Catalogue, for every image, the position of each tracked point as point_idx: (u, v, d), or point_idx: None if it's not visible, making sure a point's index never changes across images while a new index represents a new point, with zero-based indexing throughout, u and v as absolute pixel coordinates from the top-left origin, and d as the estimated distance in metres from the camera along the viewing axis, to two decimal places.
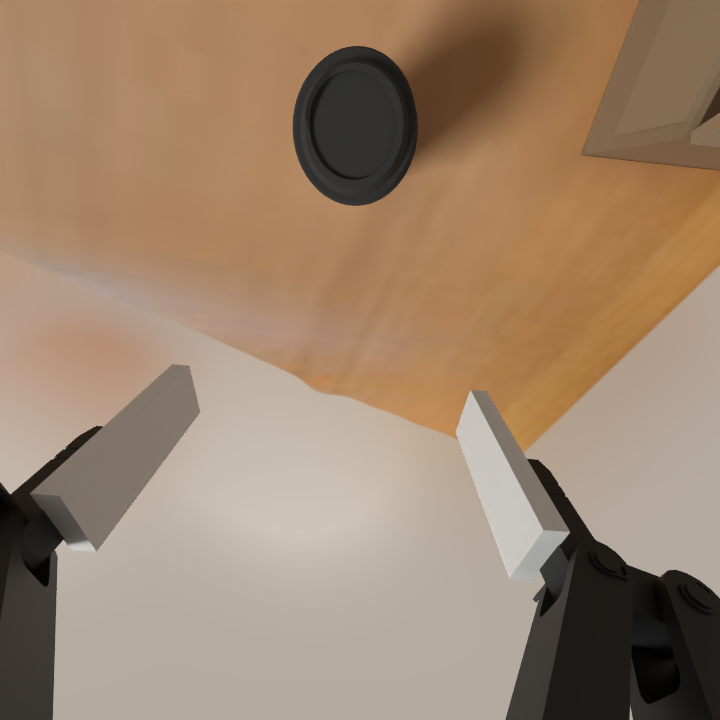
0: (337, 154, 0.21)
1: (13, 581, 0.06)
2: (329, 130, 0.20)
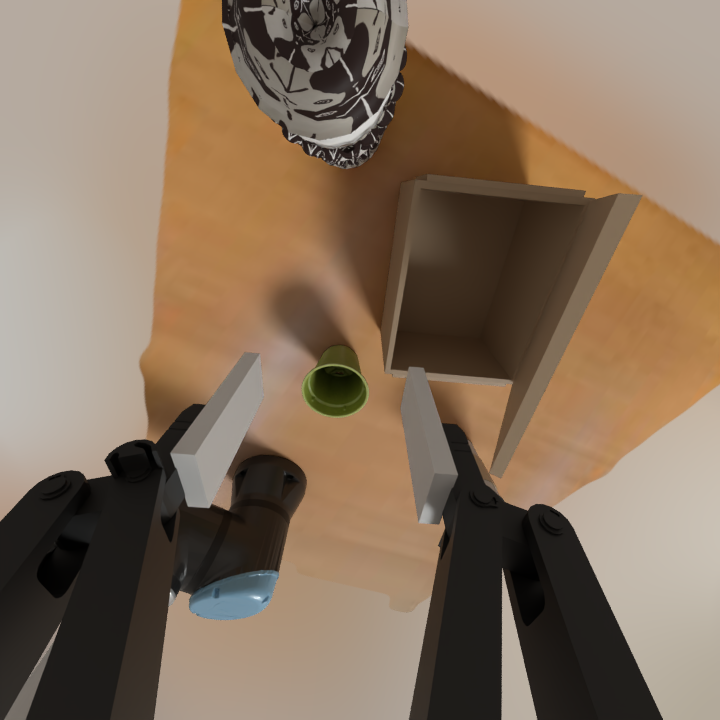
0: None
1: (153, 534, 0.07)
2: None
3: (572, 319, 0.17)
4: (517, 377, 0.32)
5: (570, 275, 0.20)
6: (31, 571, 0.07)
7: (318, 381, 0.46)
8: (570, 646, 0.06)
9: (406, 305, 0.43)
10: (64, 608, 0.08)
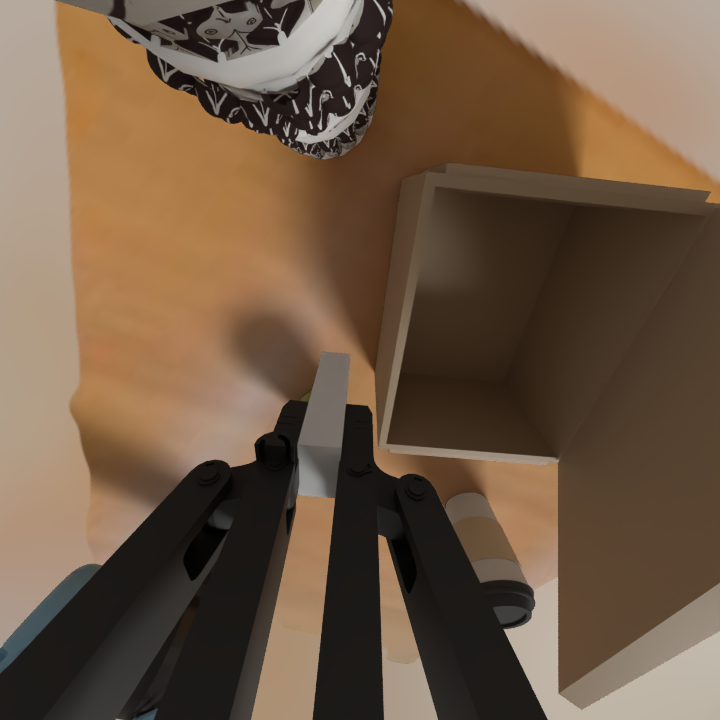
0: (510, 619, 0.36)
1: (279, 527, 0.08)
2: None
3: None
4: (573, 467, 0.22)
5: None
6: (180, 554, 0.07)
7: None
8: (436, 605, 0.07)
9: (408, 341, 0.33)
10: (194, 590, 0.08)
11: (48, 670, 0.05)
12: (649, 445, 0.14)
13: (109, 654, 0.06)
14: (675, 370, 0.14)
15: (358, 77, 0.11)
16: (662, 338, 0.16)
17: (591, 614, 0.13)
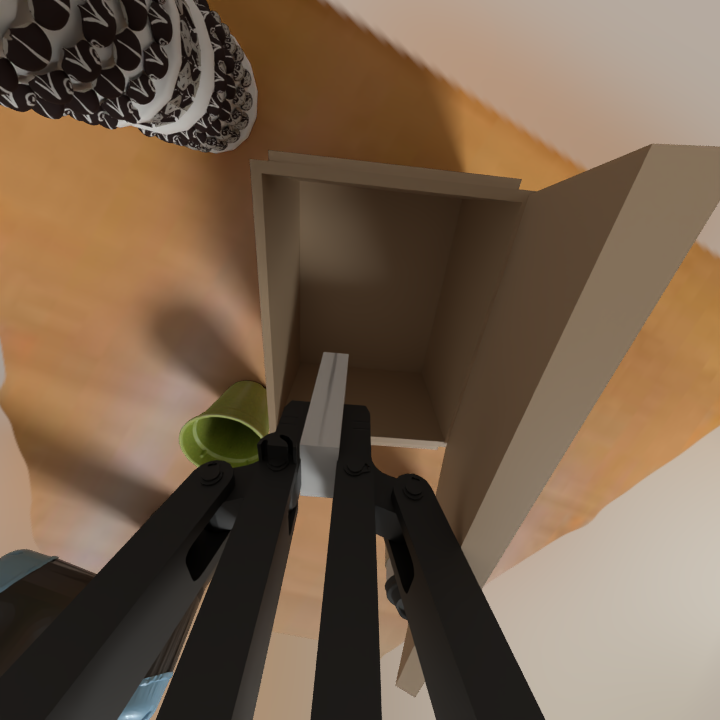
0: None
1: (282, 528, 0.08)
2: None
3: (514, 496, 0.06)
4: (448, 451, 0.22)
5: (506, 342, 0.10)
6: (183, 554, 0.07)
7: (217, 427, 0.36)
8: (433, 605, 0.07)
9: (323, 333, 0.34)
10: (196, 590, 0.08)
11: (51, 669, 0.05)
12: (468, 425, 0.14)
13: (112, 654, 0.06)
14: (489, 350, 0.14)
15: (123, 64, 0.12)
16: (492, 320, 0.17)
17: None
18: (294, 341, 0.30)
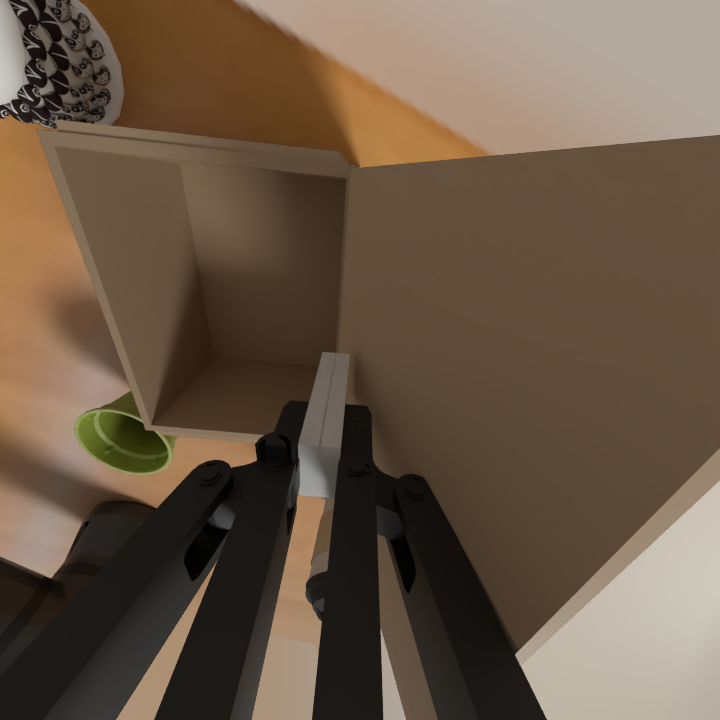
0: None
1: (280, 527, 0.08)
2: None
3: (595, 588, 0.05)
4: None
5: (438, 361, 0.08)
6: (181, 554, 0.07)
7: (132, 422, 0.35)
8: (435, 605, 0.07)
9: (232, 325, 0.32)
10: (195, 590, 0.08)
11: (50, 670, 0.05)
12: (388, 445, 0.12)
13: (110, 654, 0.06)
14: (379, 356, 0.12)
15: None
16: (358, 316, 0.15)
17: (409, 655, 0.11)
18: (192, 334, 0.29)
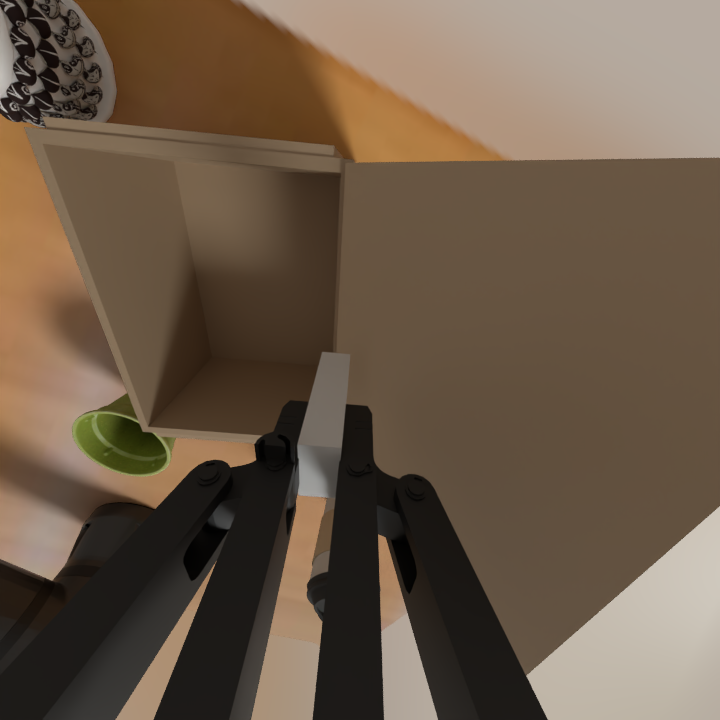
0: None
1: (280, 527, 0.08)
2: None
3: (715, 503, 0.06)
4: None
5: (515, 346, 0.09)
6: (180, 554, 0.07)
7: (130, 424, 0.35)
8: (436, 605, 0.07)
9: (229, 325, 0.32)
10: (194, 590, 0.08)
11: (48, 670, 0.05)
12: (436, 433, 0.13)
13: (109, 654, 0.06)
14: (414, 349, 0.13)
15: None
16: (373, 313, 0.15)
17: None
18: (189, 334, 0.29)
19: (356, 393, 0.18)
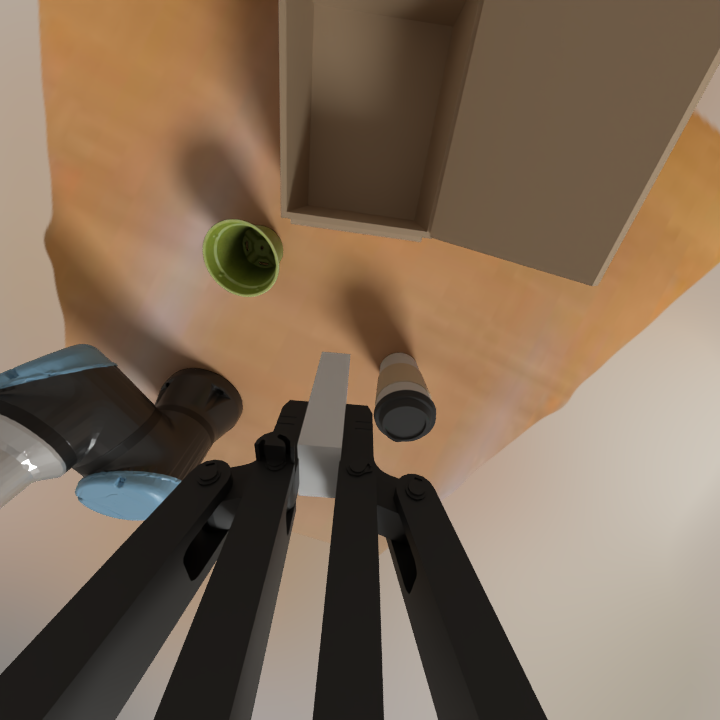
0: (413, 429, 0.42)
1: (279, 527, 0.08)
2: (404, 431, 0.43)
3: None
4: (461, 213, 0.27)
5: None
6: (180, 554, 0.07)
7: (234, 262, 0.42)
8: (436, 605, 0.07)
9: (329, 172, 0.38)
10: (194, 590, 0.08)
11: (49, 670, 0.05)
12: (560, 106, 0.19)
13: (109, 654, 0.06)
14: (548, 51, 0.19)
15: None
16: (508, 53, 0.21)
17: (586, 225, 0.19)
18: (304, 165, 0.35)
19: (474, 147, 0.25)
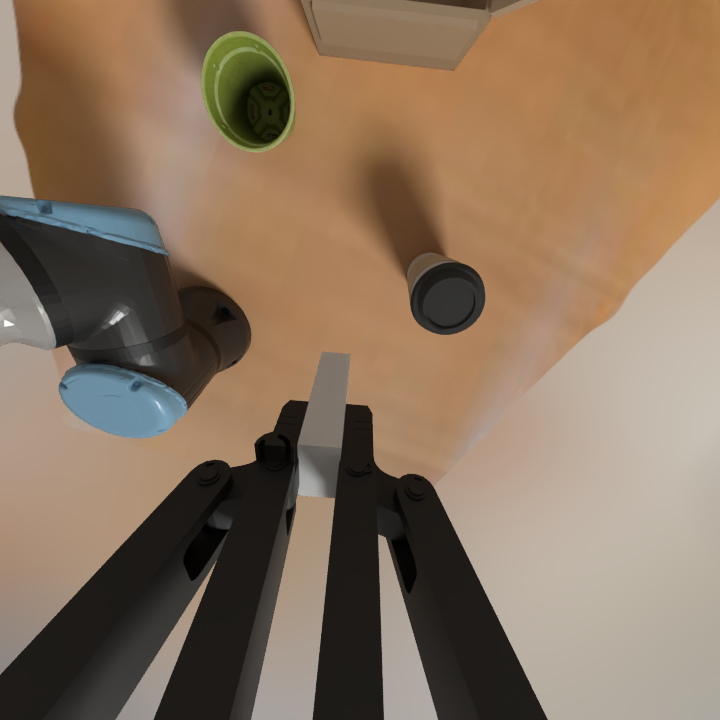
0: (459, 314, 0.36)
1: (279, 527, 0.08)
2: (448, 318, 0.36)
3: None
4: None
5: None
6: (180, 554, 0.07)
7: (238, 123, 0.35)
8: (436, 605, 0.07)
9: None
10: (194, 590, 0.08)
11: (48, 670, 0.05)
12: None
13: (109, 654, 0.06)
14: None
15: None
16: None
17: None
18: None
19: None
